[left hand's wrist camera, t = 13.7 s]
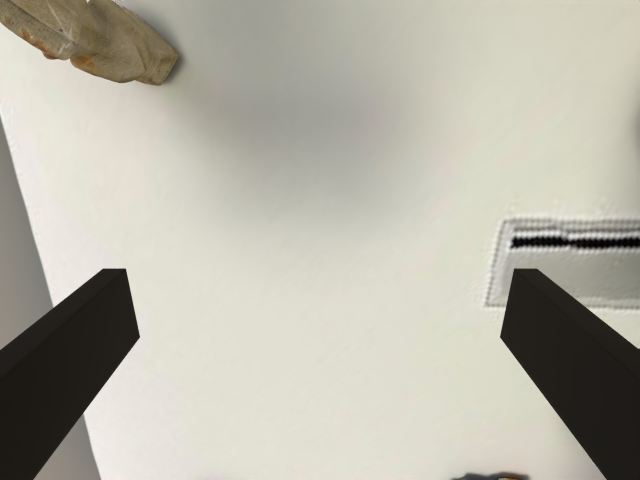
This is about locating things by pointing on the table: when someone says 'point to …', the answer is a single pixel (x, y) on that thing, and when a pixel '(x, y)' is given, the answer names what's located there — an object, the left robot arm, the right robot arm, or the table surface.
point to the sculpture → (92, 37)
